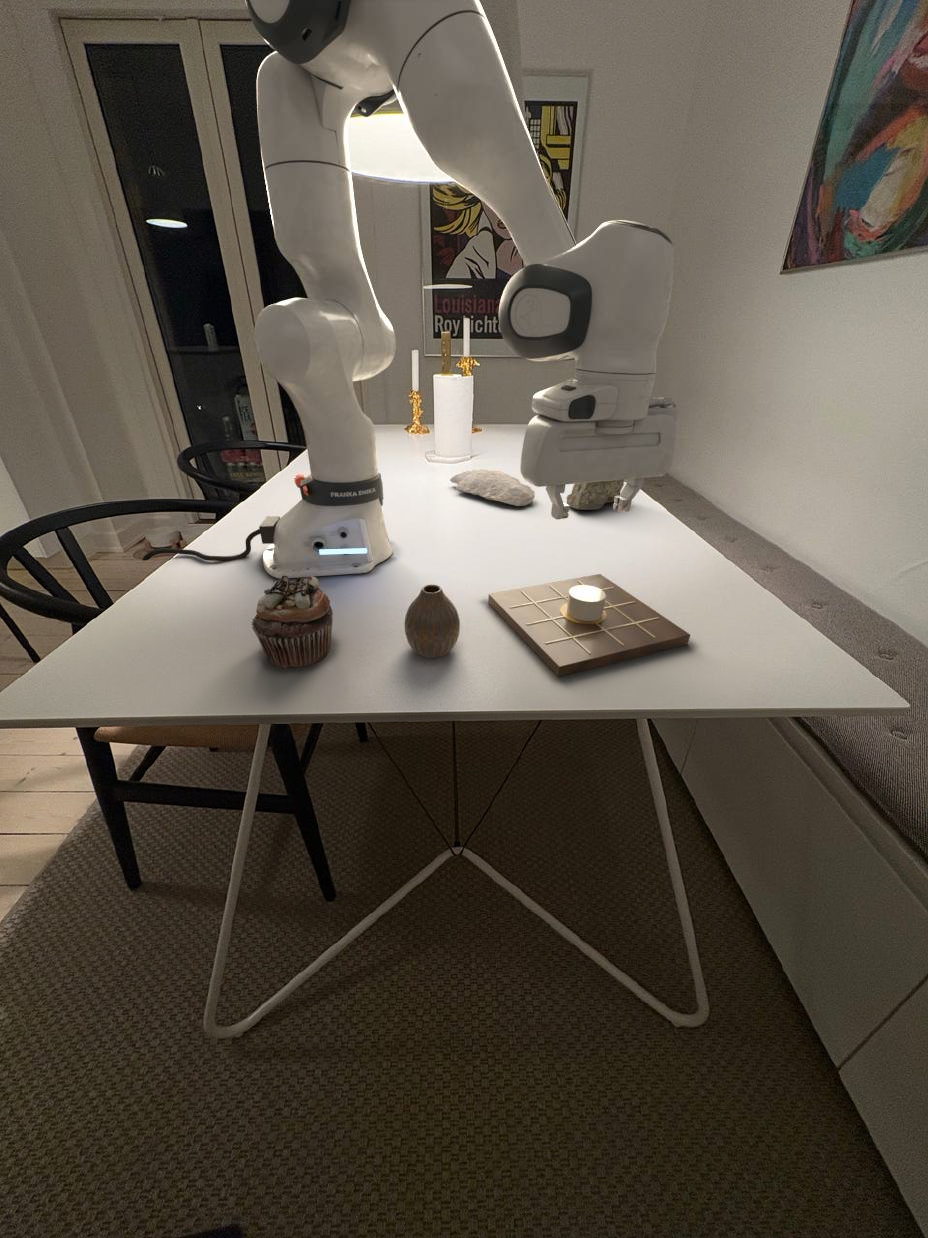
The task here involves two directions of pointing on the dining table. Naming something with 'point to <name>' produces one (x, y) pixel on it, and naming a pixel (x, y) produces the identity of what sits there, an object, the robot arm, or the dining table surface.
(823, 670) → the dining table surface
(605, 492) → the rock
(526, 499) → the stone
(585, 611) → the game stone
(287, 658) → the cupcake
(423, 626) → the vase
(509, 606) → the board
